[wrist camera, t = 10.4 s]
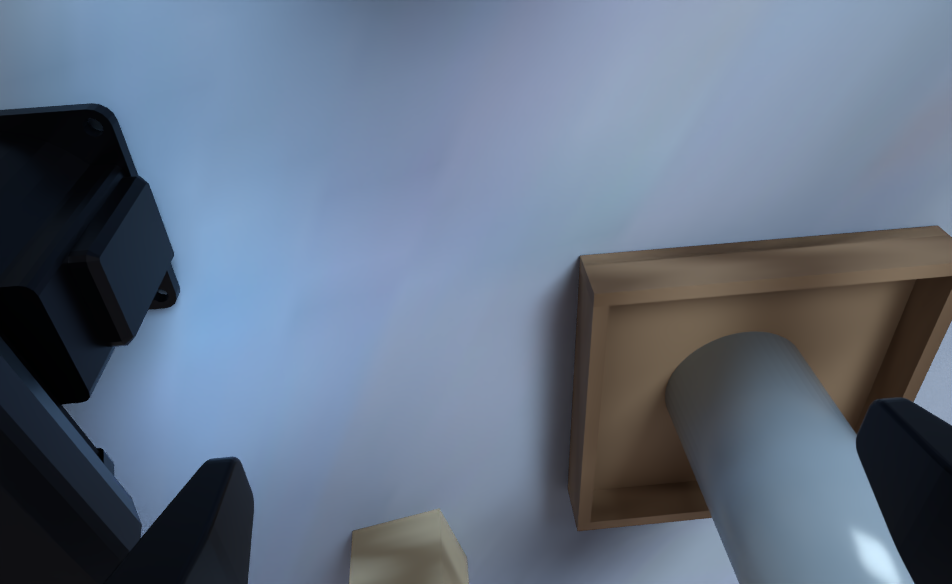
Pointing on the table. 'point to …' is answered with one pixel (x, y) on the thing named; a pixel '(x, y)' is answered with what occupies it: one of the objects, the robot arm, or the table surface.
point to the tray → (729, 312)
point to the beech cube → (408, 552)
